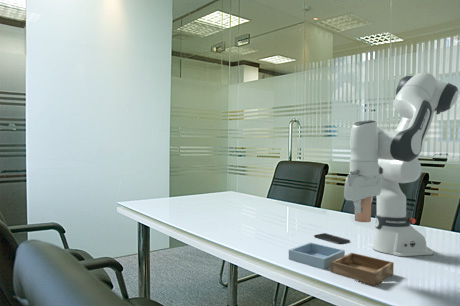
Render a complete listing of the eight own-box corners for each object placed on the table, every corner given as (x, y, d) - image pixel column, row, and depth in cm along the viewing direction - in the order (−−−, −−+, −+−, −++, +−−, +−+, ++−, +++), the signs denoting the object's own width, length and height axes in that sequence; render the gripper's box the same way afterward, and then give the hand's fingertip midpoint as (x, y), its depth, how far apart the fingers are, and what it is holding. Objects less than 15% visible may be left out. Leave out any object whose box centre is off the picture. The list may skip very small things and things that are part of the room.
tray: (351, 263, 126) (351, 252, 126) (393, 274, 116) (393, 262, 116) (331, 273, 116) (331, 261, 116) (374, 286, 106) (375, 273, 106)
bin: (310, 252, 139) (310, 242, 139) (344, 261, 129) (344, 250, 129) (288, 260, 129) (288, 249, 129) (323, 271, 119) (324, 259, 119)
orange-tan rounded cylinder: (367, 219, 118) (367, 195, 118) (373, 222, 113) (373, 197, 113) (352, 219, 118) (352, 195, 118) (357, 222, 113) (358, 197, 113)
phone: (324, 233, 167) (350, 240, 155) (324, 235, 167) (350, 242, 155) (313, 235, 163) (339, 242, 151) (313, 237, 163) (339, 245, 151)
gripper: (358, 171, 106) (357, 217, 106) (385, 168, 120) (384, 208, 120) (339, 170, 110) (338, 214, 110) (367, 167, 125) (366, 206, 125)
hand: (363, 211), depth 116 cm, fingers closed on orange-tan rounded cylinder, 5 cm apart
